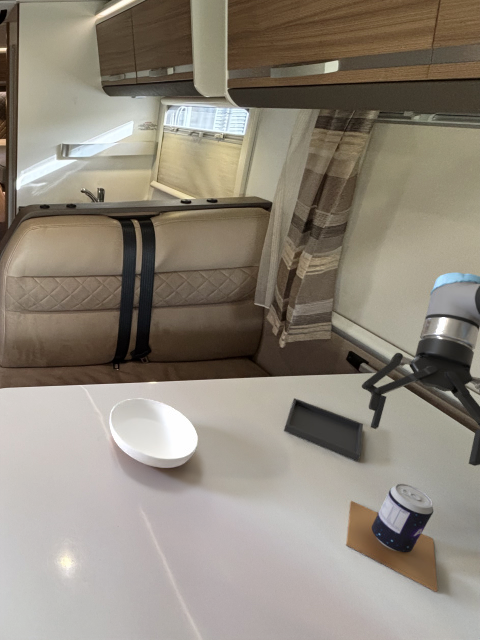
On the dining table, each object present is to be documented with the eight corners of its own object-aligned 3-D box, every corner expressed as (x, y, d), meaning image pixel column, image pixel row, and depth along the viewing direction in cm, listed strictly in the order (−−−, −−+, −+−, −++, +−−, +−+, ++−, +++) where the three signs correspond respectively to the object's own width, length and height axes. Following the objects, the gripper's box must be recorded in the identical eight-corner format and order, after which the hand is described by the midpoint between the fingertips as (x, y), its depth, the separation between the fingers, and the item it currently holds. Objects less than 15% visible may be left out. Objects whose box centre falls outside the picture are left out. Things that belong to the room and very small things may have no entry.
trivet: (431, 540, 81) (433, 538, 81) (436, 592, 73) (437, 590, 73) (350, 502, 89) (351, 500, 89) (346, 545, 81) (347, 543, 80)
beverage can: (408, 562, 77) (435, 516, 73) (367, 539, 81) (390, 494, 76) (412, 541, 80) (437, 496, 76) (372, 520, 84) (394, 476, 80)
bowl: (153, 409, 115) (157, 391, 112) (212, 466, 98) (218, 445, 95) (91, 427, 109) (93, 408, 107) (142, 490, 92) (146, 469, 90)
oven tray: (360, 429, 107) (363, 423, 106) (357, 461, 98) (360, 455, 97) (292, 403, 116) (294, 397, 115) (283, 430, 107) (285, 424, 106)
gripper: (533, 375, 81) (512, 483, 76) (361, 329, 97) (335, 416, 92) (554, 364, 75) (534, 480, 71) (368, 318, 91) (341, 410, 87)
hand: (421, 444), depth 81 cm, fingers open, 13 cm apart
